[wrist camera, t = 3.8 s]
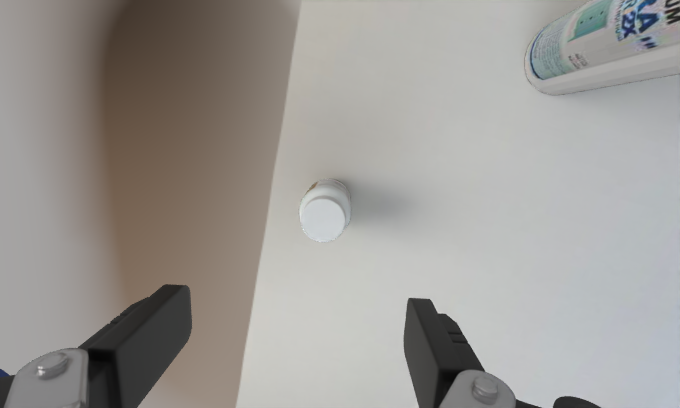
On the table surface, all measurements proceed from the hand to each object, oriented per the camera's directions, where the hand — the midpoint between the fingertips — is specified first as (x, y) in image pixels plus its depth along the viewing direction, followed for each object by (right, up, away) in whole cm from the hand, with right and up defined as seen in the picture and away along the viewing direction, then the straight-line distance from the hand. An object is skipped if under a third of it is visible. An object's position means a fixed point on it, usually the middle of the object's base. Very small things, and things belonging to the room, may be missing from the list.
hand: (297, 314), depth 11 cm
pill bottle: (0, +4, +20) cm, 20 cm away
